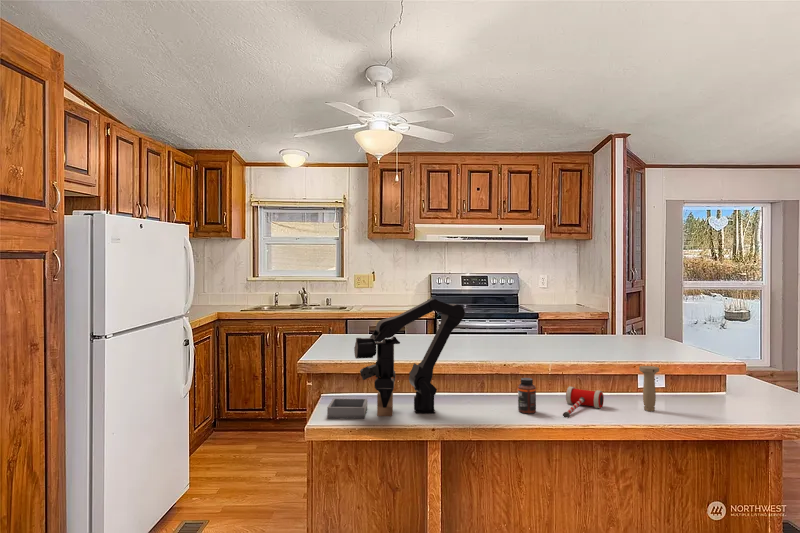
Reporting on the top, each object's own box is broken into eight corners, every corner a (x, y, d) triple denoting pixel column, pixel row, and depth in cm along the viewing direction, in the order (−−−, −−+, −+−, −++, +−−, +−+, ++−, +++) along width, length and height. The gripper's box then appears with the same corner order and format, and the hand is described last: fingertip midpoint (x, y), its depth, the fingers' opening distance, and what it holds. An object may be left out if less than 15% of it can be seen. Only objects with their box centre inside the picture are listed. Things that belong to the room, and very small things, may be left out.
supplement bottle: (537, 410, 171) (537, 378, 171) (533, 415, 166) (533, 381, 166) (520, 408, 174) (520, 376, 174) (516, 412, 169) (516, 379, 169)
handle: (636, 409, 174) (636, 366, 174) (653, 408, 175) (652, 365, 175) (645, 412, 169) (645, 368, 169) (662, 412, 170) (662, 368, 170)
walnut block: (392, 411, 169) (392, 391, 169) (392, 416, 164) (392, 394, 164) (378, 411, 169) (378, 391, 169) (377, 416, 164) (377, 394, 164)
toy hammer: (583, 421, 160) (583, 402, 160) (548, 415, 167) (547, 396, 167) (604, 407, 178) (604, 389, 178) (571, 402, 185) (571, 384, 185)
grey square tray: (367, 408, 173) (367, 398, 173) (364, 418, 161) (364, 407, 161) (333, 408, 173) (333, 398, 173) (327, 418, 161) (327, 407, 161)
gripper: (364, 352, 177) (364, 396, 176) (358, 362, 158) (358, 411, 158) (395, 353, 176) (395, 397, 176) (393, 362, 158) (393, 411, 157)
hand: (385, 403), depth 167 cm, fingers open, 9 cm apart
